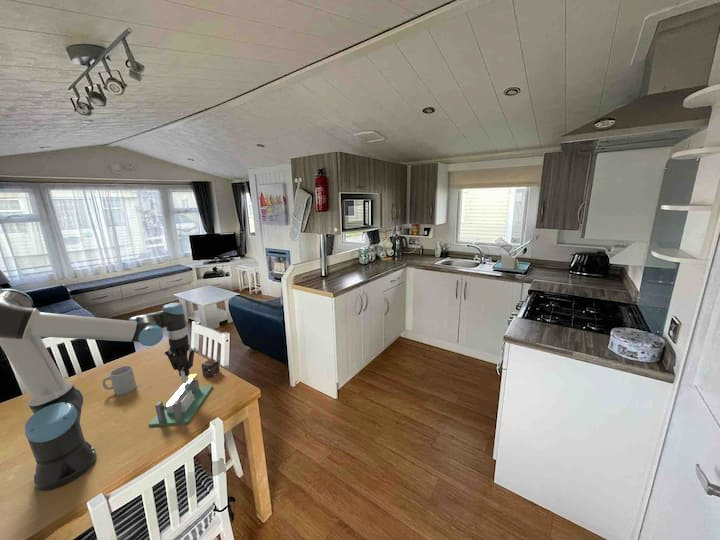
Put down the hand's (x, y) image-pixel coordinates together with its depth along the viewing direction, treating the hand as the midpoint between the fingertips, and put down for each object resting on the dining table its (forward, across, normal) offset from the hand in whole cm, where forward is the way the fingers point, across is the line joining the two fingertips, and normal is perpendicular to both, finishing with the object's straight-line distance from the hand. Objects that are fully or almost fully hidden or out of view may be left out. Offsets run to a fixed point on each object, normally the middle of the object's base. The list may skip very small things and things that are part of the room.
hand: (185, 381), depth 131 cm
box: (+9, -3, -19) cm, 21 cm away
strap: (+3, 0, +4) cm, 5 cm away
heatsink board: (+9, 0, +5) cm, 10 cm away
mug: (+10, +37, -9) cm, 39 cm away
